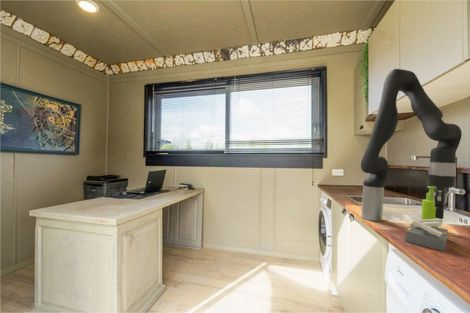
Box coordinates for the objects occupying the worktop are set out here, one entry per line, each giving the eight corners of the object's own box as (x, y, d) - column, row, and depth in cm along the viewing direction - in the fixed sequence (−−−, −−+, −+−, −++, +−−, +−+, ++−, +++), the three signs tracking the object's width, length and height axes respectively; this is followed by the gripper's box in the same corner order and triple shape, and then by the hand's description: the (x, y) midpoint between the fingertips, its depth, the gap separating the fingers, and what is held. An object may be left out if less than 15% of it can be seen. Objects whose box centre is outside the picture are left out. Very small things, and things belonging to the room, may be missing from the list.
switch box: (412, 230, 94) (412, 218, 94) (447, 238, 86) (448, 226, 86) (404, 240, 82) (405, 227, 82) (444, 251, 74) (445, 236, 73)
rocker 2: (413, 221, 84) (414, 219, 83) (440, 235, 78) (442, 232, 77) (412, 223, 81) (413, 220, 81) (439, 237, 76) (441, 234, 75)
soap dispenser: (443, 231, 94) (446, 188, 94) (426, 229, 96) (429, 187, 95) (434, 227, 100) (437, 186, 100) (417, 225, 101) (420, 185, 101)
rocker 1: (415, 225, 88) (414, 222, 88) (441, 224, 82) (440, 221, 82) (413, 227, 85) (412, 224, 86) (441, 225, 80) (440, 222, 80)
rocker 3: (417, 222, 92) (416, 219, 92) (442, 221, 86) (441, 218, 86) (416, 224, 89) (415, 221, 90) (442, 222, 84) (441, 219, 84)
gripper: (430, 172, 88) (428, 213, 88) (426, 173, 79) (424, 218, 79) (456, 174, 82) (453, 217, 83) (455, 176, 74) (452, 224, 74)
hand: (439, 218), depth 81 cm, fingers closed
